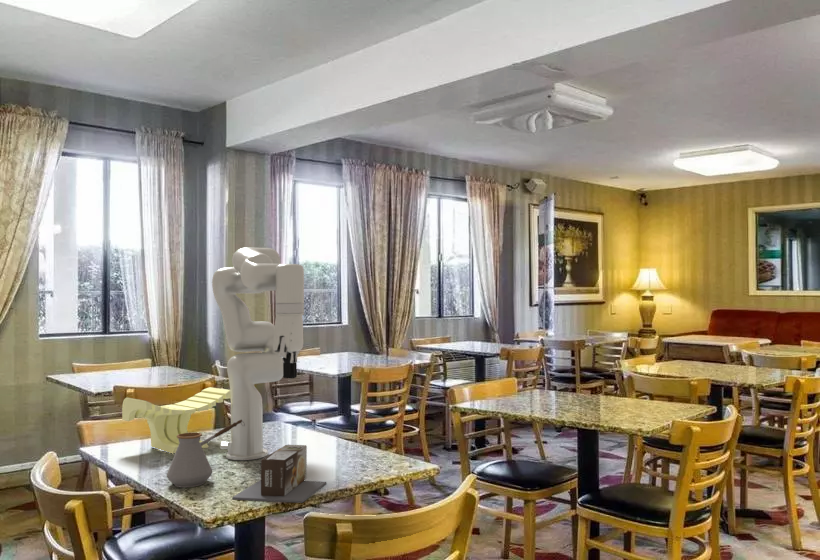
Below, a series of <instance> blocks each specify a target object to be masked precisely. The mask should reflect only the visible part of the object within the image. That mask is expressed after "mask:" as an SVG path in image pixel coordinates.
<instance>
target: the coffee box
mask: <svg viewBox="0 0 820 560" xmlns="http://www.w3.org/2000/svg"><path fill="white" fill-rule="evenodd" d="M307 449H308V448H307V444H306V445H305V444H285V445H284V446H281V447H280V448H279V449H277V450H275V451H274V452H272V453H270V454H268V455H267V456H265V457H262V458H260V459H261V460H260V480H261V495H262V496H285V495H286V494H288V493H289V492H290V491H291V490H293V489H294V488H295V487H297V486H298V485H299V484H300V483H302V482H303V481H306V480H307V478H308V477H307V468H308V467H307V464H308V463H307V461H308V459H307V457H308V455H307V454H308V452H307Z"/></svg>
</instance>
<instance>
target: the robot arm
mask: <svg viewBox="0 0 820 560" xmlns="http://www.w3.org/2000/svg"><path fill="white" fill-rule="evenodd" d="M231 262H232V263H231V264H232V266H230V267H229V266H228V267H221V268H219V269H217V270H216V271H215V272H214V274H213V276H212V282H211V283H212V291H213V296H214V299H215V302H216V304H217V306H218V307H219V310H220V313H221V316H222V321H223V326H224V332H225V338H226V342H227V346H228V348H229V350H231V351H233V352H237V353H238V352H239V353H238V354H235V355H232V356H231V357H230V358H229V359H228V361H227V365H226V370H227V376H228V377H227V378H228V383H229V384H228V385H229V390H230V425H232V424H233V423H234V422H235V423H236V422H237V421H239V420H242V421H243V422H244V423H245V426H244V423H243V422H241V423H242V425H243V426H242V425H241V423H240V424H237V426H236V427H233V428H232V429H230V441H221V442H220V443H219V448H220V449H221V450H227V452H226V455H225V458H226V459H228V460H232V461H250V460H258V459H263V458H265V457H266V456H268V455H269V451H268V449H266V448H264V447H263V446H264V439H263V438H264V437H263V436H264V434H263V432H264V431H263V425H264V424H263V397H262V394H261V393H260V391H259V390H258V389H257V387H255V385H257V384H264V383H265V384H266V383H275V382H278V381H281V380H282V378H283V379H296V378H297V376H298V375H297V373H298V372H297V363H298V355H299V354H300V352H301V350H302V349H303V348H304V322H303V316H304V315H305V280H304V279H305V271H304V270H305V269H304V267H303V265H302V264H298V263H281V257H280V254H279V253H278V252H277V250H276V249H274V248H271V247H249V246H248V247H242V248H239V249H237V250H236V251H235V252H234V253H233V255H232V258H231ZM267 291H269V292H270V291H271V292H273V291H275V319H274V321H275V322H274V324H273V323H272V322H270V321H267V320H266V321H265V320H264V321H261V320H259V321H258V320H257V321H253V320H252V317H251V314H250V313H251V312H250V309H249V307H248V305H247V304H246V303H245V302H244V300H242V298H240V297H239V296H238V295H237V294H262V293H265V292H267Z"/></svg>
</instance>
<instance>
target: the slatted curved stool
mask: <svg viewBox="0 0 820 560" xmlns="http://www.w3.org/2000/svg"><path fill="white" fill-rule="evenodd" d="M224 399H225V400H228V399H231V395H230V389H227V388H226V389H225V388H218V387H210V386H209V387H207V388H204V389H202V390H201V392H197V393H196V394H194V395H193V396H191V397H188V398H187V399H186V400H182V401H179V402H176V403H173V404H166V405H165V404H164V405H156V404H154V403H152V402H150V401H149V400H142V399H138V398H132V397H127V396H126V397H125V398H124V399H123V402H122V408H121V411H122V412H121V413H122V414H121V416H122V417H121V419H122V421H126V422H130V421H132V420H135V419H146V420H147V425H148V428H149V432H150V447H151V446H152V447H155V448H158V449H161V450H164V451H167V452H170V453H172V454H171V455H174V454H173V453H176V450H177V448H178V445H179V440H178V438H177V435H179V434H183V433H189V432H188V425H189V422H190V419H191V417H192V415H193V414H195V413H196V412H202V411H203V412H205V411H209V409H210V410H212V408H213V407H217V403H218V404H220V403H224ZM202 441H203V440H201V439H200V441H199V442H202ZM207 443H208V442H207ZM207 443H206V444H204V445H202V449H204V448H205V449H207V448H209V445H208V444H207ZM170 453H169V454H170Z"/></svg>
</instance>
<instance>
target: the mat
mask: <svg viewBox="0 0 820 560" xmlns="http://www.w3.org/2000/svg"><path fill="white" fill-rule="evenodd" d="M325 485H327V481H321V480H320V481H318V480H313V481H312V480H304V481H303V482H302V483H300V484H299V485H298V486H297V487H295V488H294V489H293V490H291V491H290V492H289V493H288V494H286V495H285V496H262V495H261V479H260V480H258V481H257V482H255V483H253V484H251V485H250V486H247V488H245V489H244V490H242V491H240V492H238V493H237V494H235V495H234V496H232V498H231V499H232V500H237V501H238V500H239V501H260V502H279V503H281V502H282V503H298V504H299V503H301V504H303V503H304V502H305V501H307V500H308V499H309V498H310V497H312V496H313V495H314V494H315V493H316V491H317V492H318V491H319V490H321V489H322V488H323V487H324V486H325Z"/></svg>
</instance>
